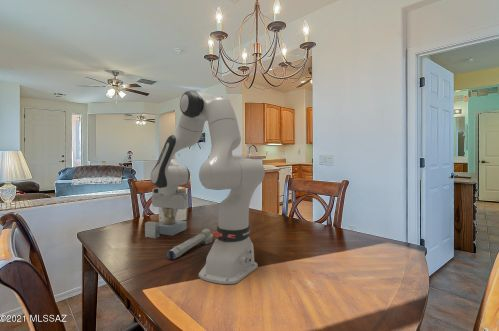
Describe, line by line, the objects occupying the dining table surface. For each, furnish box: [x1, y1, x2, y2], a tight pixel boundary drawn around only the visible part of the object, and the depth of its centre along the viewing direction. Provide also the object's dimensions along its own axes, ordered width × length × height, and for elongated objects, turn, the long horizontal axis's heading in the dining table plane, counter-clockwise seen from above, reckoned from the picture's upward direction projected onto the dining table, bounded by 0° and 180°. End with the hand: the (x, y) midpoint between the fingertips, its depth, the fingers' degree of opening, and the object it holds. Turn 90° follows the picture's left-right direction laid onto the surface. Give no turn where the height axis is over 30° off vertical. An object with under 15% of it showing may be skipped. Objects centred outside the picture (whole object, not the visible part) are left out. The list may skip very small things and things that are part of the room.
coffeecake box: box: [158, 186, 187, 223], centre depth 157 cm, size 15×7×20 cm, turn 144°
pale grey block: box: [144, 221, 161, 239], centre depth 129 cm, size 3×6×7 cm, turn 70°
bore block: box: [159, 220, 188, 237], centre depth 139 cm, size 12×12×4 cm
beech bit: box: [164, 208, 175, 225], centre depth 139 cm, size 4×4×8 cm
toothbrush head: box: [166, 228, 214, 261], centre depth 114 cm, size 5×7×25 cm
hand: (169, 216), depth 139 cm, fingers closed on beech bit, 4 cm apart
